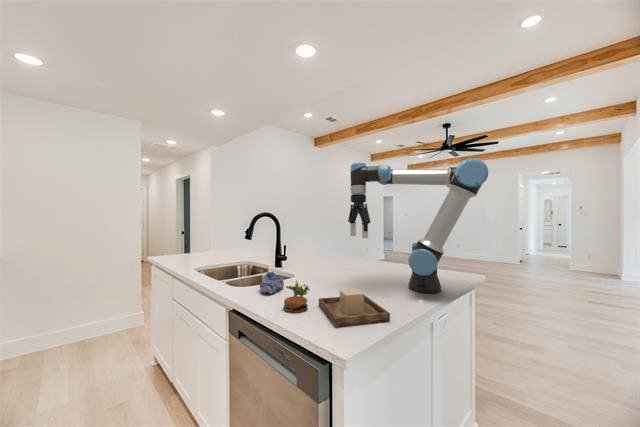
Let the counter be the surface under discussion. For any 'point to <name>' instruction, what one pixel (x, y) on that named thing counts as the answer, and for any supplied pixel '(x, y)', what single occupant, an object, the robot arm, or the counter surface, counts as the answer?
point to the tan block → (351, 301)
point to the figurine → (299, 289)
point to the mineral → (271, 283)
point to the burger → (295, 304)
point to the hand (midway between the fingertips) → (358, 237)
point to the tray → (340, 319)
